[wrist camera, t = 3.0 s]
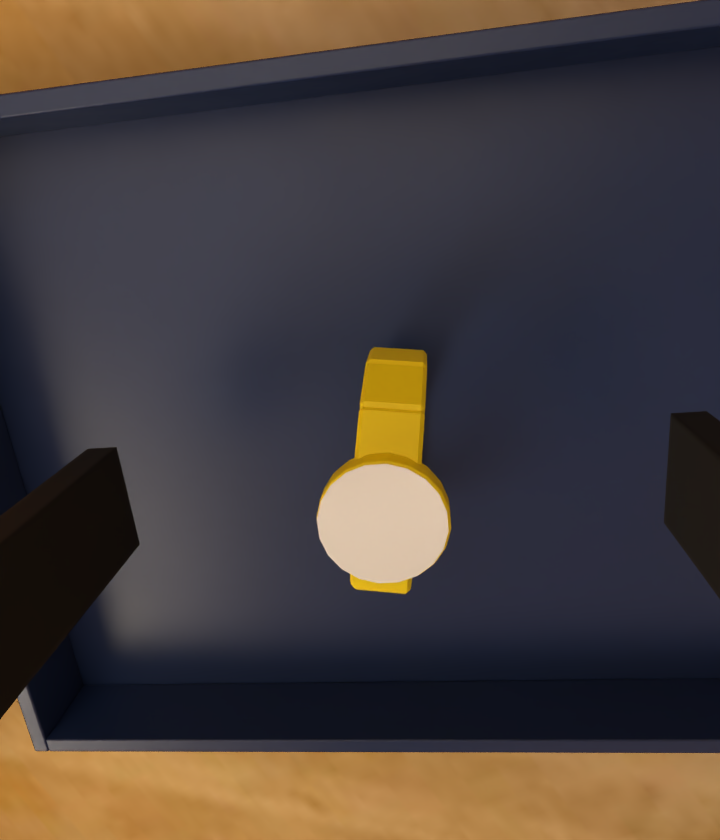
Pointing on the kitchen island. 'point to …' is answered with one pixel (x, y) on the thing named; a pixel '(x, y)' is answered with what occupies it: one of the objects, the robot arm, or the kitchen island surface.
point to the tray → (343, 378)
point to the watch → (387, 483)
